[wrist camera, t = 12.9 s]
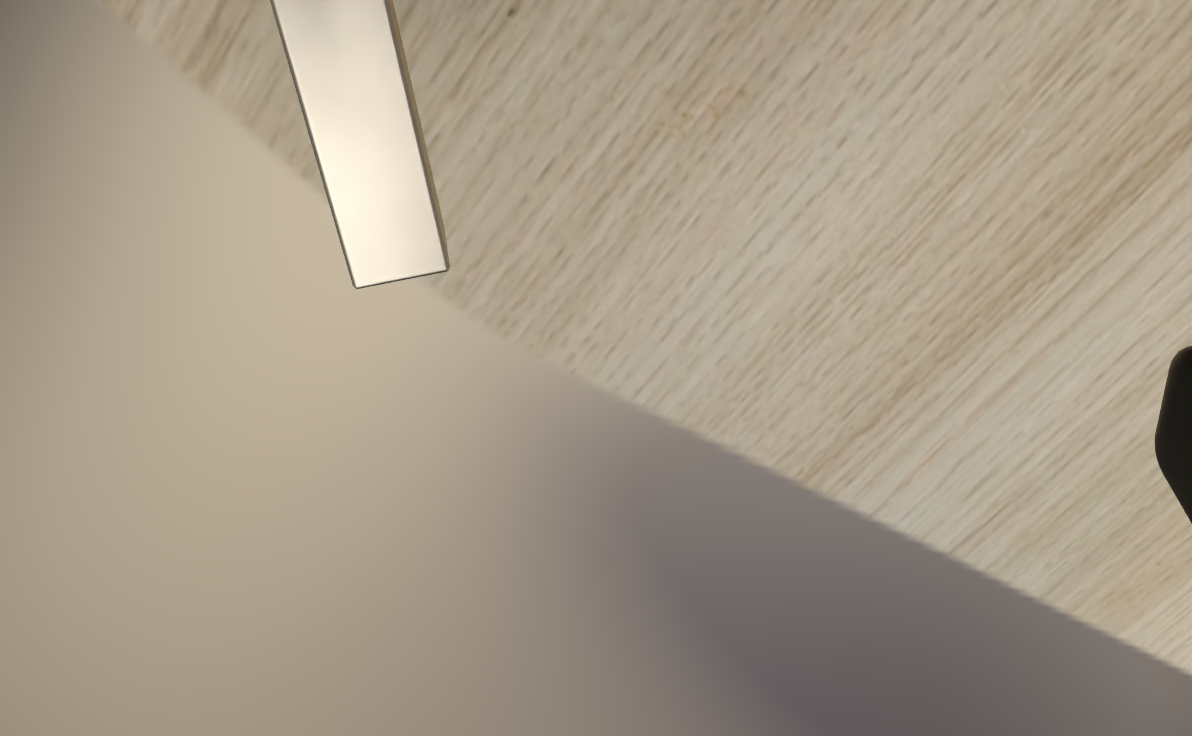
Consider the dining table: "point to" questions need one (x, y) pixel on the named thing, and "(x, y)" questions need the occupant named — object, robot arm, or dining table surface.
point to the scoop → (365, 135)
